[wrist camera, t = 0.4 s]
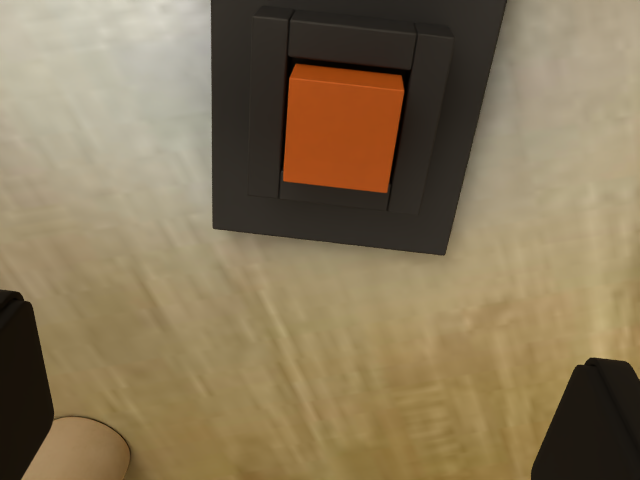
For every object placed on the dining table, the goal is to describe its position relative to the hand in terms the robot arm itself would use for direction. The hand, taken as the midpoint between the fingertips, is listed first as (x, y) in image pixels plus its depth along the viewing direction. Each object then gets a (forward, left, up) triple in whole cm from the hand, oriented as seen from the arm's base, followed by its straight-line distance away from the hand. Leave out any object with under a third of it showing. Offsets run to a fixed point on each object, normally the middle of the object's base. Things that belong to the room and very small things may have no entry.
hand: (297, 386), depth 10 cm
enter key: (0, 0, -12) cm, 12 cm away
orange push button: (-1, 0, -15) cm, 15 cm away
